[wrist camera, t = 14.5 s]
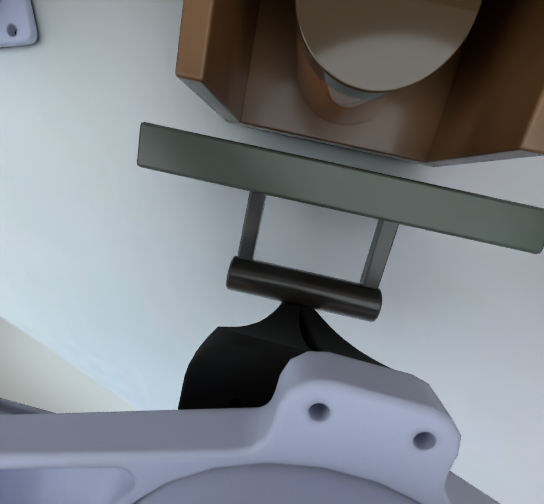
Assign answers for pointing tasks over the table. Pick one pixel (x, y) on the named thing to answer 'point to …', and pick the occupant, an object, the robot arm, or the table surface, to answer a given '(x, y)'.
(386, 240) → the drawer
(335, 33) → the jar
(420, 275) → the table surface
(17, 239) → the table surface
